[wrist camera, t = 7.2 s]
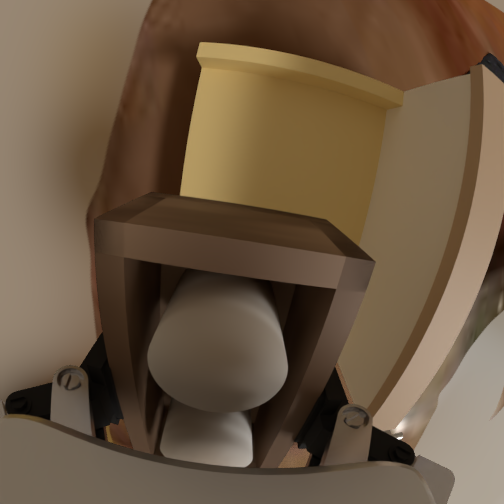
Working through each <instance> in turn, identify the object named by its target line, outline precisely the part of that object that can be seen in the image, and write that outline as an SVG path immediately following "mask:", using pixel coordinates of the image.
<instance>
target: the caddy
mask: <svg viewBox="0 0 504 504" xmlns="http://www.w3.org/2000/svg"><path fill="white" fill-rule="evenodd" d="M94 246H95V267H96V281H97V292H98V301H99V309H100V317H101V324H102V330H103V336H104V342H105V348H106V353H107V358H108V363H109V367H110V368H111V371H112V376H113V380H114V384H115V388H116V392H117V396H118V400H119V403H120V407H121V410H122V414H123V417H124V419H123V420H124V423H125V426H126V429H127V432H128V435H129V438H130V441H131V443H132V446H133V449H134V450H137V451H141V452H145V453H149V454H153V455H158V456H162V457H167V458H172V459H178V460H183V461H189V462H196V463H203V464H211V465H220V466H231V467H247V468H278V466H279V465H280V463H281V462H282V460H283V459H284V457H285V456H286V454H287V453H288V451H289V449H290V448H291V446H292V445H293V443H294V440H295V438H296V436H297V435H298V433H299V431H300V430H301V428H302V426H303V424H304V423H305V421H306V419H307V417H308V416H309V414H310V412H311V410H312V408H313V406H314V405H315V403H316V401H317V399H318V397H320V395H321V393H322V392H323V390H324V388H325V386H326V384H327V382H328V380H329V378H330V376H331V373H332V371H333V369H334V367H335V365H336V363H337V361H338V359H339V356H340V354H341V352H342V350H343V348H344V345H345V343H346V341H347V338H348V336H349V334H350V331H351V329H352V326H353V324H354V321H355V319H356V316H357V314H358V311H359V309H360V306H361V303H362V301H363V298H364V295H365V293H366V290H367V287H368V284H369V281H370V278H371V275H372V272H373V269H374V266H375V263H376V261H375V260H373V259H372V258H371V257H370V256H369V255H368V254H367V253H366V252H364V251H363V250H362V249H361V248H360V247H359V246H358V245H356V244H355V243H354V242H353V241H352V240H351V239H349V238H348V237H347V236H346V235H345V234H344V233H342V232H341V231H340V230H339V229H338V228H336V227H335V226H334V225H333V224H332V223H330V222H329V221H328V220H327V219H322V218H317V217H312V216H306V215H301V214H295V213H290V212H284V211H279V210H273V209H267V208H261V207H255V206H249V205H243V204H236V203H230V202H223V201H216V200H209V199H202V198H195V197H188V196H180V195H172V194H164V193H155V192H151V193H148V194H146V195H144V196H141V197H139V198H137V199H135V200H132V201H130V202H128V203H126V204H124V205H121V206H119V207H117V208H115V209H113V210H111V211H109V212H107V213H105V214H103V215H101V216H99V217H97V218H95V219H94Z"/></svg>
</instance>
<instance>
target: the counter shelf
mask: <svg viewBox="0 0 504 504" xmlns="http://www.w3.org/2000/svg"><path fill="white" fill-rule="evenodd" d="M196 57H197V59H198V61H199V63H200V65H201V67H202V70H201V74H200V79H199V83H198V88H197V93H196V97H195V102H194V108H193V113H192V118H191V124H190V129H189V135H188V141H187V148H186V154H185V161H184V168H183V175H182V183H181V191H180V196H188V197H195V198H202V199H209V200H216V201H223V202H230V203H236V204H243V205H249V206H255V207H261V208H267V209H273V210H279V211H284V212H290V213H295V214H301V215H306V216H312V217H317V218H322V219H327V220H328V221H329V222H330V223H332V224H333V225H334V226H335V227H336V228H338V229H339V230H340V231H341V232H342V233H344V234H345V235H346V236H347V237H348V238H349V239H351V240H352V241H353V242H354V243H355V244H356V245H358V246H359V247H360V248H361V249H362V250H363V251H364V252H366V253H367V254H368V255H369V256H370V257H371V258H372V259H373V260H375V261H376V263H375V266H374V269H373V272H372V275H371V278H370V281H369V284H368V287H367V290H366V293H365V295H364V298H363V301H362V303H361V306H360V309H359V311H358V314H357V316H356V319H355V321H354V324H353V326H352V329H351V331H350V334H349V336H348V338H347V341H346V343H345V345H344V348H343V350H342V352H341V354H340V356H339V359H338V361H337V362H338V364H339V367H340V369H341V372H342V374H343V377H344V380H345V382H346V385H347V387H348V390H349V392H350V395H351V397H352V400H353V403H354V404H357V405H360V406H363V407H364V408H366V409H367V410H368V411H369V412H370V413H371V415H372V418H373V426H374V427H376V428H378V429H380V430H382V431H386V430H391V429H395V428H396V427H397V425H398V424H399V423H400V422H401V421H402V419H403V418H404V417H405V416H406V414H407V413H408V412H409V410H410V409H411V408H412V407H413V405H414V404H415V403H416V401H417V400H418V399H419V397H420V396H421V394H422V393H423V392H424V390H425V389H426V387H427V386H428V384H429V383H430V381H431V380H432V378H433V377H434V375H435V374H436V372H437V371H438V369H439V368H440V366H441V364H442V363H443V361H444V359H445V358H446V356H447V354H448V353H449V351H450V349H451V347H452V346H453V344H454V342H455V340H456V338H457V336H458V335H459V333H460V331H461V329H462V327H463V325H464V323H465V321H466V319H467V317H468V314H469V312H470V310H471V308H472V306H473V303H474V301H475V299H476V297H477V294H478V292H479V289H480V287H481V284H482V282H483V279H484V276H485V274H486V271H487V268H488V265H489V262H490V259H491V256H492V253H493V250H494V247H495V243H496V240H497V236H498V233H499V229H500V225H501V221H502V217H503V212H504V83H503V82H502V81H501V80H500V79H499V78H498V77H497V76H495V75H494V74H493V73H492V72H491V71H490V70H489V69H487V68H486V67H485V66H484V65H483V64H480V65H476V66H472V67H470V74H467V75H463V76H459V77H454V78H450V79H447V80H443V81H439V82H435V83H432V84H428V85H425V86H421V87H418V88H415V89H412V90H408V91H405V92H403V91H401V90H399V89H397V88H394V87H392V86H390V85H387V84H385V83H383V82H380V81H378V80H375V79H373V78H370V77H367V76H365V75H362V74H359V73H356V72H354V71H351V70H348V69H345V68H342V67H338V66H335V65H332V64H328V63H325V62H321V61H318V60H314V59H310V58H306V57H302V56H298V55H293V54H289V53H284V52H279V51H274V50H268V49H262V48H256V47H249V46H241V45H232V44H222V43H208V42H200V44H199V48H198V52H197V56H196Z"/></svg>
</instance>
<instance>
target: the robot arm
mask: <svg viewBox="0 0 504 504" xmlns="http://www.w3.org/2000/svg"><path fill="white" fill-rule="evenodd" d="M120 419H124V417H123V414H122V410H121V407H120V403H119V400H118V396H117V392H116V388H115V384H114V380H113V376H112V371H111V368H110V367H109V363H108V358H107V353H106V348H105V342H104V336H103V332H102V333H101V335H100V336H99V338H98V339H97V341H96V342H95V344H94V345H93V347H92V348H91V350H90V351H89V353H88V355H87V356H86V358H85V359H84V361H83V363H82V364H81V366H80V367H77V366H72V365H69V366H64V367H62V368H60V369H58V370H57V371H56V373H55V374H54V377H53V382H52V383H48V384H44V385H40V386H36V387H32V388H28V389H24V390H20V391H16V392H14V393H12V394H10V395H9V396H8V398H7V399H6V402H4V403H3V402H2V400H0V504H447V501H448V498H449V496H450V493H451V491H452V488H453V485H454V481H455V478H454V475H453V473H452V472H451V471H450V470H449V469H447V468H445V467H443V466H441V465H439V464H437V463H434V462H432V461H430V460H428V459H426V458H424V457H422V456H420V455H418V456H417V457H416V456H415V453H414V451H413V449H412V448H411V446H410V445H408V444H407V443H405V442H403V441H402V440H401V439H402V437H403V433H402V432H399V433H395V434H392V433H391V432H390V430H386V431H382V430H380V429H378V428H376V427H374V426H373V418H372V415H371V413H370V412H369V411H368V410H367V409H366V408H364V407H363V406H360V405H357V404H349V403H348V400H347V397H346V395H345V392H344V389H343V387H342V384H341V381H340V379H339V376H338V373H337V371H336V368H335V367H334V369H333V371H332V373H331V376H330V378H329V380H328V382H327V384H326V386H325V388H324V390H323V392H322V393H321V395H320V397H318V399H317V401H316V403H315V405H314V406H313V408H312V410H311V412H310V414H309V416H308V417H307V419H306V421H305V423H304V424H303V426H302V428H301V430H300V431H299V433H298V435H297V436H296V438H295V440H294V442H297V443H298V449H303V448H307V451H308V452H310V456H309V458H308V461H307V464H306V466H305V467H300V468H247V467H231V466H220V465H211V464H203V463H196V462H189V461H183V460H178V459H172V458H167V457H162V456H158V455H153V454H149V453H145V452H141V451H137V450H134V449H130V448H127V447H123V446H120V445H117V444H113V443H110V442H108V440H107V434H106V427H105V426H108V425H110V423H113V424H117V425H118V423H119V420H120Z"/></svg>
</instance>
